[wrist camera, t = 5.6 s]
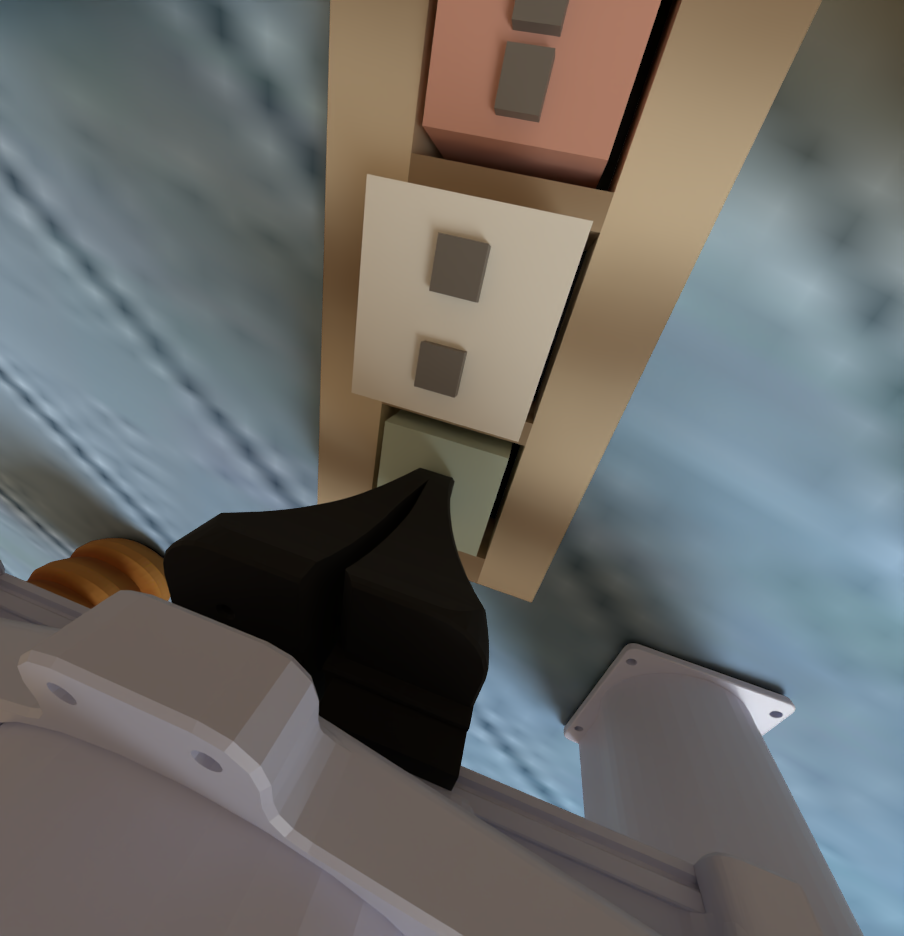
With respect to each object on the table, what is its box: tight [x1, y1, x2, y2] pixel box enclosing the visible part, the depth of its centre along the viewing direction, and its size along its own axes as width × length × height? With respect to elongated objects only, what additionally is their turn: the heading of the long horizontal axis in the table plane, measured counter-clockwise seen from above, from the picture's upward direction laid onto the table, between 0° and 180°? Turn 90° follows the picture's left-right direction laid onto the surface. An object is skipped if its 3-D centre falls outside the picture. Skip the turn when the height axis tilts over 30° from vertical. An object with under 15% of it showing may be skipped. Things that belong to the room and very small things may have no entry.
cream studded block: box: [351, 174, 593, 442], centre depth 8 cm, size 4×4×3 cm
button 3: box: [422, 0, 661, 189], centre depth 8 cm, size 4×4×3 cm
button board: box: [318, 0, 822, 603], centre depth 11 cm, size 20×10×3 cm, turn 167°
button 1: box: [377, 410, 513, 557], centre depth 13 cm, size 4×4×3 cm
